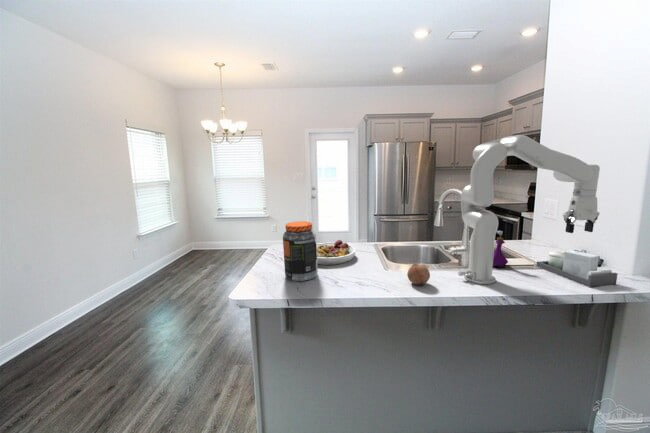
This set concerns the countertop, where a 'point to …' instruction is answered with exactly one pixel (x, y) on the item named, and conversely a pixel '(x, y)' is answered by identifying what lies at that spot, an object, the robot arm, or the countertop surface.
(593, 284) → the grey shallow rectangular tray
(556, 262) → the cream jar
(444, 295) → the countertop surface
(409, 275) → the onion
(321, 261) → the bowl
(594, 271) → the pusher
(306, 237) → the supplement tub
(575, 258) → the skincare box
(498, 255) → the perfume bottle
